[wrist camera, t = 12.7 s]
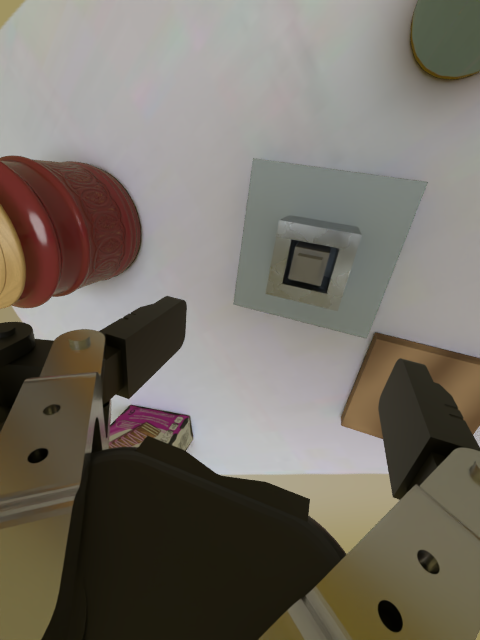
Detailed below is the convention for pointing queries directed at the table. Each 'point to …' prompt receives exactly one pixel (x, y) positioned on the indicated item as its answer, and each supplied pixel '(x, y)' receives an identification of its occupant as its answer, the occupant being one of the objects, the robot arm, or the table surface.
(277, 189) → the square plate
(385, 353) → the stand
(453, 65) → the bottle
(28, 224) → the canister
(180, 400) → the table surface
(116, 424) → the candy bar box
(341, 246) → the recessed metal cube
